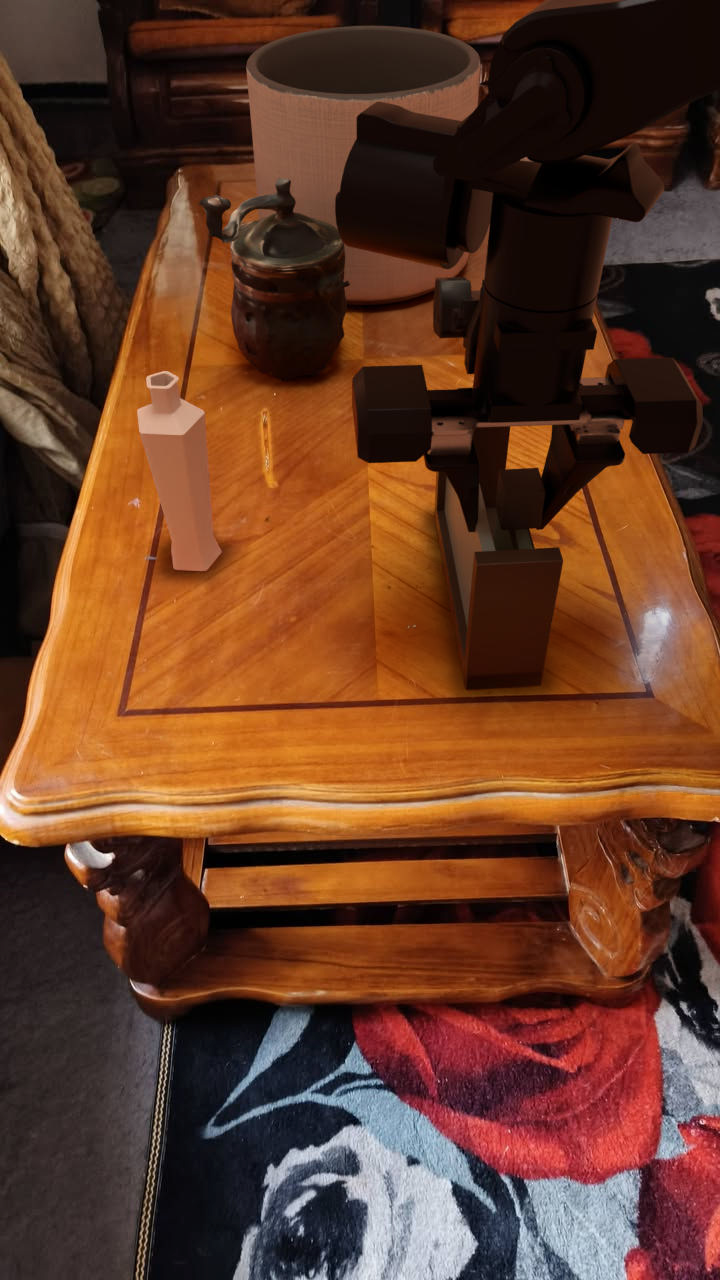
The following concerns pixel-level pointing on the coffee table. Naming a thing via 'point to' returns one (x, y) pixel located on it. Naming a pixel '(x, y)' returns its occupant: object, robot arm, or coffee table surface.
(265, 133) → the planter
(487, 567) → the window frame
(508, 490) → the pane
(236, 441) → the coffee table surface
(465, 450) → the robot arm
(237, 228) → the coffee grinder
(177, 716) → the coffee table surface
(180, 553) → the perfume bottle
